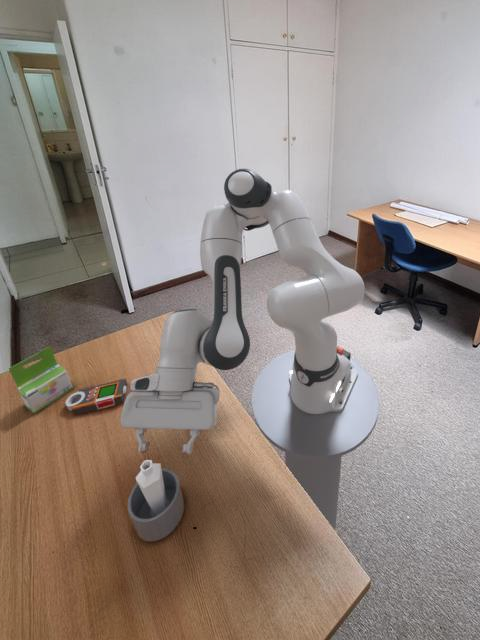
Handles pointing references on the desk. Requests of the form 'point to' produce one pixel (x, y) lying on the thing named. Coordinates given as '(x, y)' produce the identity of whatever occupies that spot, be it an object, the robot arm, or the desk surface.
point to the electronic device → (97, 397)
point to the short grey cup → (166, 520)
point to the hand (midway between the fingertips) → (164, 452)
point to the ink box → (41, 380)
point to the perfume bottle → (153, 487)
